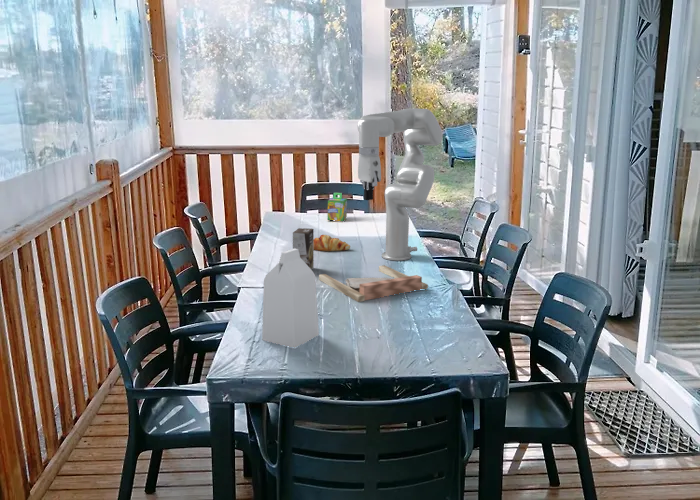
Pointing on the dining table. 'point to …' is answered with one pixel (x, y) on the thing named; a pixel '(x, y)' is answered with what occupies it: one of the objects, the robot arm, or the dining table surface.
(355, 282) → the washcloth
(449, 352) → the dining table surface
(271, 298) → the milk
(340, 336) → the dining table surface
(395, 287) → the wooden frame
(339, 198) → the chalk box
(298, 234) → the coffee box
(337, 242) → the croissant
